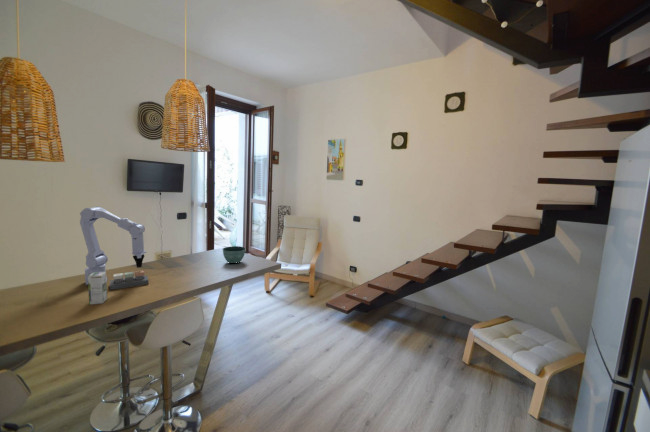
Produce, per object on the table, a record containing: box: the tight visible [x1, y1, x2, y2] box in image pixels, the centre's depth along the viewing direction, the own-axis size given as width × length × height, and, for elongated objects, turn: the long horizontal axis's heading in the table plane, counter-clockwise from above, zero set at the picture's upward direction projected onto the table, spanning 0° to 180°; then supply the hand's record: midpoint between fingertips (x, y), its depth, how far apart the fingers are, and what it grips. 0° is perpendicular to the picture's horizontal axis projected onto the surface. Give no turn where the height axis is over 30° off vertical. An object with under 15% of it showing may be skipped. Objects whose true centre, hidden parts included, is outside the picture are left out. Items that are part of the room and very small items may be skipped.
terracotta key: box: [134, 270, 145, 280], centre depth 166 cm, size 4×4×5 cm
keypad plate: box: [109, 274, 149, 291], centre depth 164 cm, size 18×10×2 cm, turn 125°
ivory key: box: [112, 272, 124, 283], centre depth 161 cm, size 4×4×5 cm
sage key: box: [123, 271, 135, 282], centre depth 164 cm, size 4×4×5 cm
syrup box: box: [87, 271, 108, 305], centre depth 140 cm, size 6×6×14 cm
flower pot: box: [222, 245, 246, 263], centre depth 211 cm, size 16×16×11 cm
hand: (139, 267), depth 168 cm, fingers closed
